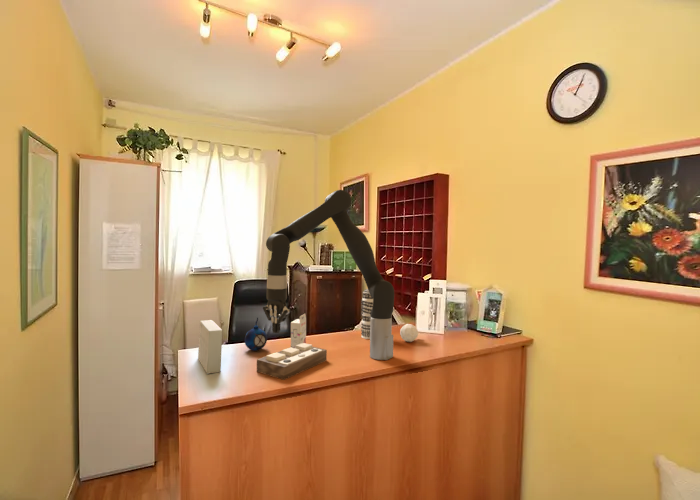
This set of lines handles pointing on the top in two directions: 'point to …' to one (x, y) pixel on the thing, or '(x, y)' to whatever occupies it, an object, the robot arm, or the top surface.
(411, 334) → the white rounded piece
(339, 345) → the top surface
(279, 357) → the button left
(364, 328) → the decorative candle
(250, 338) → the bomb
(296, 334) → the ink cartridge box
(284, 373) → the button panel
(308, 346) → the button right
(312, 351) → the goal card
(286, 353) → the button middle
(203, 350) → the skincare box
